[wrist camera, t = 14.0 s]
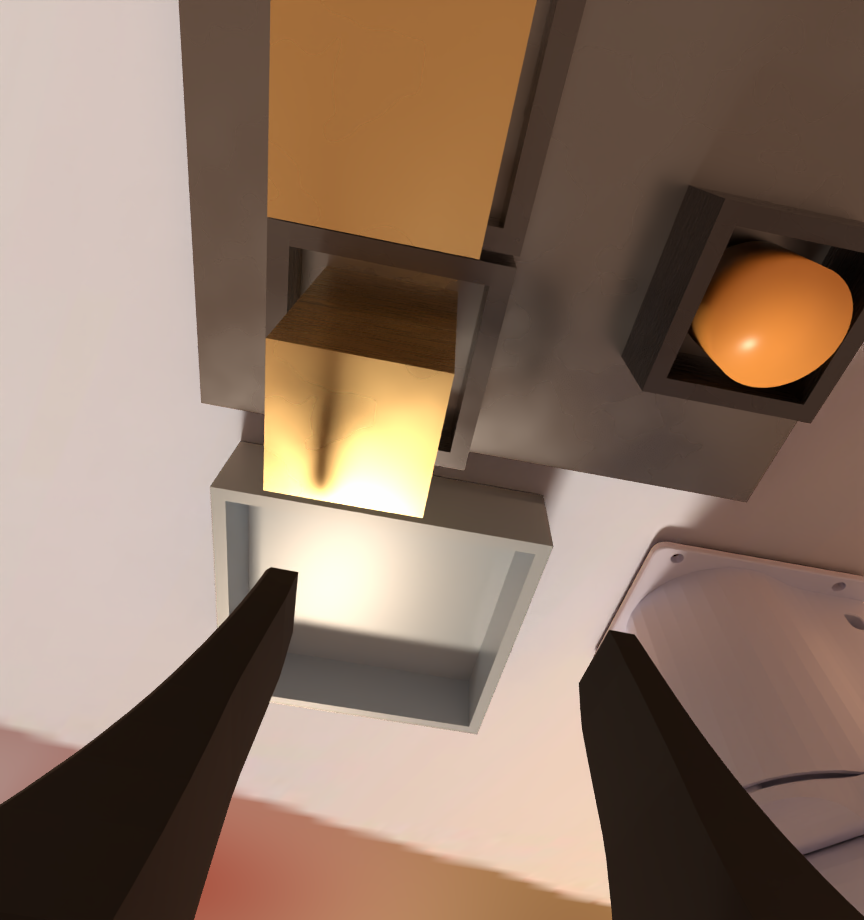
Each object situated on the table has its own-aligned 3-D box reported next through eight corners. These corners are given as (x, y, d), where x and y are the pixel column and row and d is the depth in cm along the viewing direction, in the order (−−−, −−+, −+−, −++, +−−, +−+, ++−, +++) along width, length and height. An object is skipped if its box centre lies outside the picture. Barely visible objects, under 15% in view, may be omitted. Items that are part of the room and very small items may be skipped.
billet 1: (512, 29, 13) (539, -14, 8) (474, 208, 15) (479, 259, 10) (346, -8, 13) (271, -76, 8) (332, 178, 15) (267, 216, 10)
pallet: (1006, 34, 14) (1156, 15, 11) (735, 486, 21) (778, 547, 18) (188, -160, 12) (103, -240, 10) (212, 390, 20) (169, 439, 17)
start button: (823, 253, 15) (881, 277, 13) (765, 360, 17) (807, 397, 15) (712, 230, 15) (752, 251, 13) (664, 340, 17) (692, 375, 15)
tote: (543, 495, 22) (553, 546, 19) (476, 678, 28) (477, 734, 26) (240, 441, 21) (210, 486, 19) (242, 641, 28) (220, 694, 25)
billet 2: (458, 291, 17) (454, 373, 12) (434, 407, 19) (422, 518, 14) (326, 265, 16) (265, 338, 11) (318, 385, 19) (263, 490, 14)
